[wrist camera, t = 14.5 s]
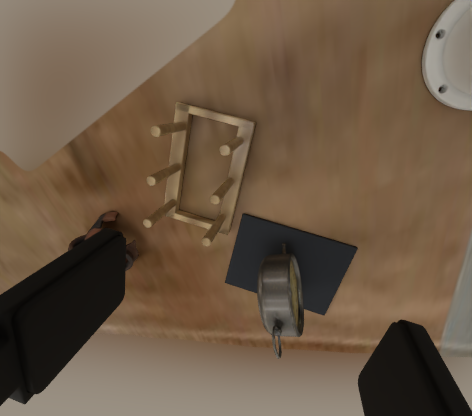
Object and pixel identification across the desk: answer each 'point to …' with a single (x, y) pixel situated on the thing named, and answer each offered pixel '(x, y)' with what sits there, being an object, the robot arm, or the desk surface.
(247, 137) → the dowel rack
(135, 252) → the pottery mug
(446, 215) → the desk surface
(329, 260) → the desk mat
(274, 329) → the alarm clock
